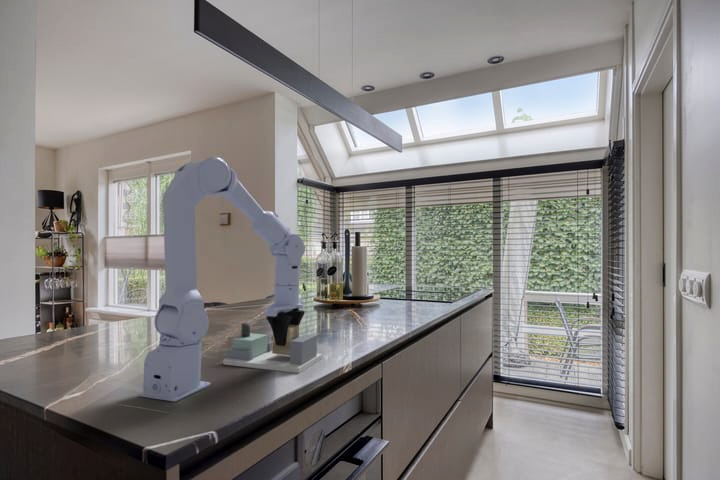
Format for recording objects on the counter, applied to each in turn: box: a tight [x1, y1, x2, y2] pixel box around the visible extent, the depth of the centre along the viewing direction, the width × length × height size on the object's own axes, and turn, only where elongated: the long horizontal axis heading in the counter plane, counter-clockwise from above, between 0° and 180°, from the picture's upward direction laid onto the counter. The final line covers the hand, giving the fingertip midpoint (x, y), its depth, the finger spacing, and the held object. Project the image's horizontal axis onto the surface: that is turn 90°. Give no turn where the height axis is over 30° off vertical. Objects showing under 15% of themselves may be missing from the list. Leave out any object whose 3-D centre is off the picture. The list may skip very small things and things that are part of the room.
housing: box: [270, 324, 300, 355], centre depth 94 cm, size 4×6×6 cm
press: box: [222, 334, 323, 374], centre depth 94 cm, size 13×19×6 cm
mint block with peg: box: [232, 322, 269, 358], centre depth 96 cm, size 7×5×7 cm
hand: (285, 343), depth 93 cm, fingers closed on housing, 4 cm apart
